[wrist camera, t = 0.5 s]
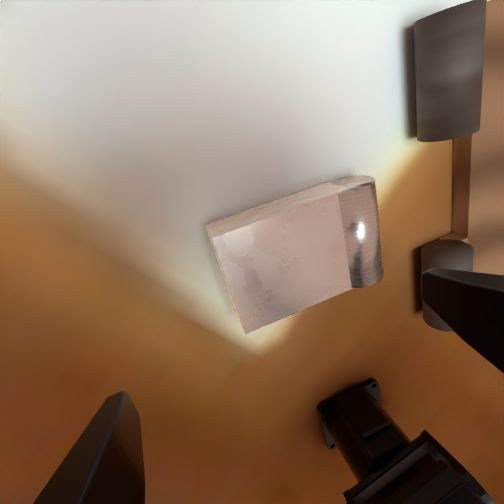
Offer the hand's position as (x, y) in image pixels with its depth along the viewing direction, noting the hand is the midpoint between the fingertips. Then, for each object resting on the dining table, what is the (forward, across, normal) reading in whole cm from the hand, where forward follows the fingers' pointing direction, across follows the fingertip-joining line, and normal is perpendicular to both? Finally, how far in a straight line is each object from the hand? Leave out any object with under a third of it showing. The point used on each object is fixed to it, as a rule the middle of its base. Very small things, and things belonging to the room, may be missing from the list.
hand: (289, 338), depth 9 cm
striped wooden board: (+13, -22, +3) cm, 26 cm away
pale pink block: (+13, -5, +3) cm, 14 cm away
